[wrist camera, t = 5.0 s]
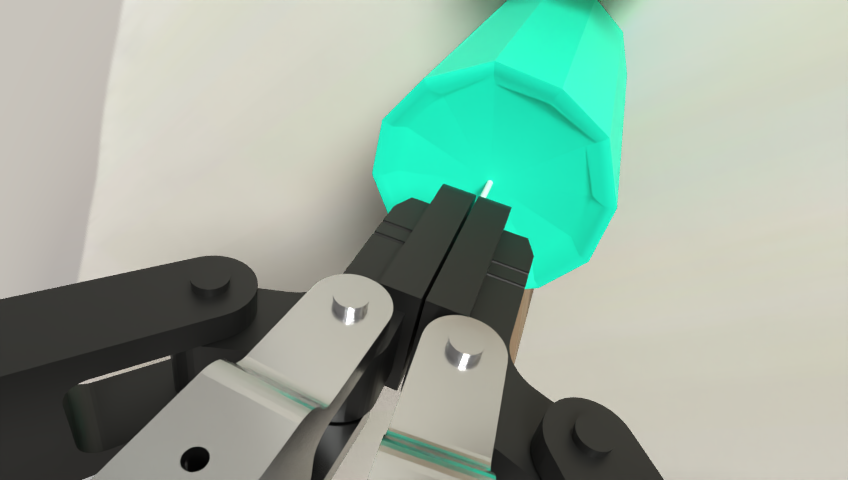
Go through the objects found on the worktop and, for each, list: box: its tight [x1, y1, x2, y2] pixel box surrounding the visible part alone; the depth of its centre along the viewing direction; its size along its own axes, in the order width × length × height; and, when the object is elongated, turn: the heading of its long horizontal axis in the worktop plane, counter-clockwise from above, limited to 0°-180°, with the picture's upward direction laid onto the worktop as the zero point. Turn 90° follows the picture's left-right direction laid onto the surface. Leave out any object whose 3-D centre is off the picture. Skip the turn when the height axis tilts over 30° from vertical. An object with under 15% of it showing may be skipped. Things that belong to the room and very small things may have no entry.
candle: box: [372, 0, 627, 289], centre depth 17 cm, size 6×6×12 cm
